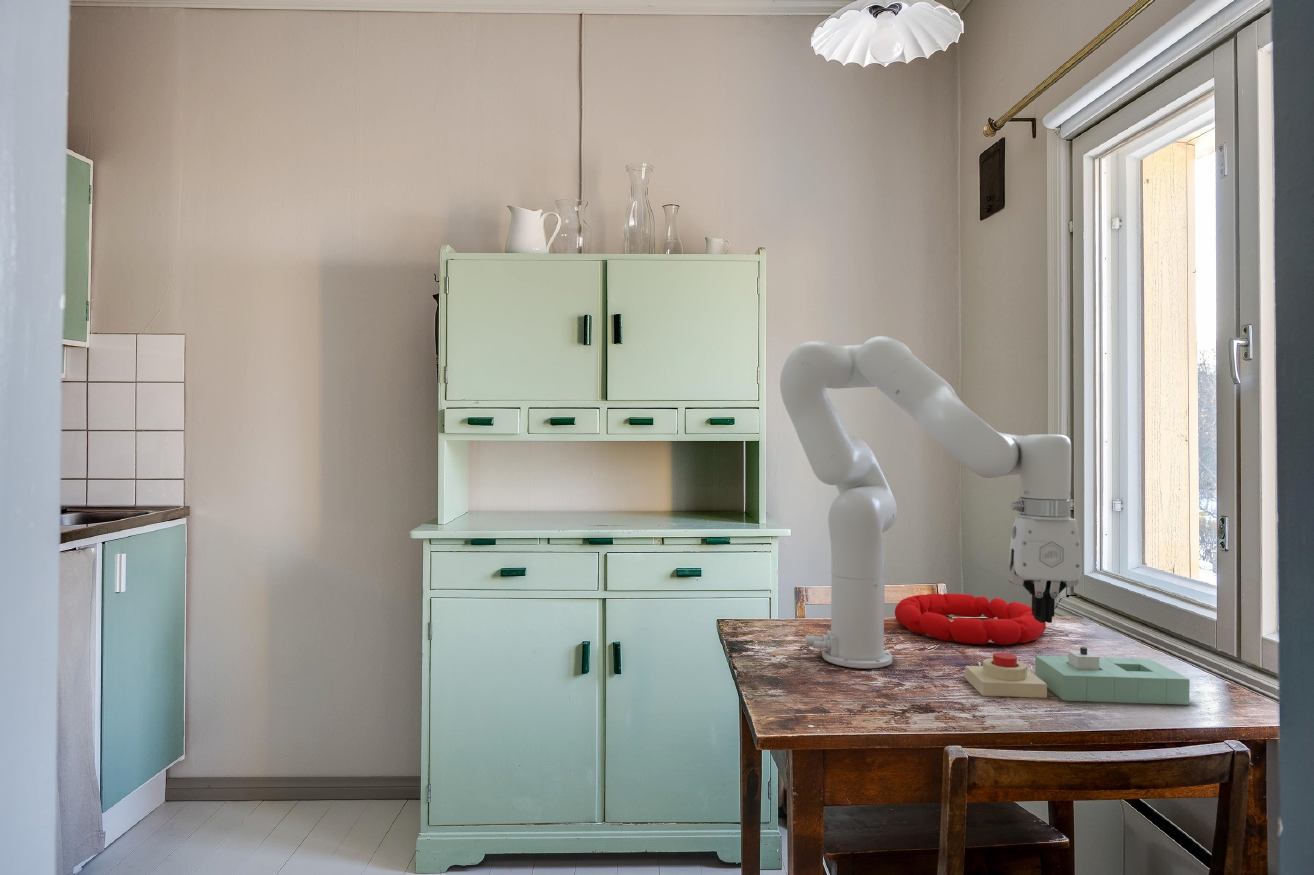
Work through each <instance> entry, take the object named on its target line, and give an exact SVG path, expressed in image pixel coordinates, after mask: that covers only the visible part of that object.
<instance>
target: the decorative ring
mask: <svg viewBox="0 0 1314 875" xmlns="http://www.w3.org/2000/svg"><path fill="white" fill-rule="evenodd" d="M951 615H952V616H954V617H955V618H953V620H952V621H951V620H950V619H949V617H947V616H951ZM982 615H983V616H984V617H985V618H987V619H984V620H982V619H980V617H981V616H982ZM894 617H895V619H896V621H897V623H898V624H900V625H901V626H903V627H905V628H906V629H907V630H909V631H910V632H912V633H915V634H918V635H928V636H930V637H931V638H934V639H937V640H939V641H944V642H945V641H947V642H949V641H956V642H959V643H962V644H968V645H979V646H983V645H987V644H989V641H992V643H994V644H995V645H998V646H999V645H1000V646H1011V645H1014V644H1016V643H1017V644H1026V643H1030V642H1032V641H1036V640H1037V639H1039V638H1040V637H1042V635H1044V632H1045V631H1046V628H1047V622H1045V623H1041V622H1039V621H1037V620H1036V619H1034V616H1033V615H1032V606H1029V605H1027V604H1024V603H1020V602H1017V601H1011V602H1009V603H1007V602H1006V601H1005V600H1004V599H1002V598H1000V597H999V598H998V597H995V598H993V599H991V600H989V598H988V597H987V596H977V597H975V596H974V595H972V594H963V593H943V594H942V593H927V594H916V595H912V596H908V597H906V598H903V599H901V600H900V601H898V603H897V604H896V605H895V608H894Z"/></svg>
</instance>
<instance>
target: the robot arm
mask: <svg viewBox="0 0 1314 875" xmlns="http://www.w3.org/2000/svg"><path fill="white" fill-rule="evenodd" d="M780 373H781V374H780V378H779V389H780V394H781V398H782V402H783V404H784V407H785V409H786V412H787V414H788V416H789V418H790V420H791V423H792V425H793V427H794V429H795V432H796V434H797V437H798V440H799V441H800V444H801V446H802V449H803V451H804V454H805V456H806V458H807V460H808V463H809V465H810V467H811V470H812V472H813V474H814V475H815V477H816V478H817V479H818V481H820V482H822V483H823V484H825V485H829V486H836V489H837V491H838V495H837V496H836V497H835V498H834V500H833V501H832V503H831V504H830V507H829V511H828V519H827V520H828V521H827V522H828V532H829V540H830V549H831V550H830V554H831V556H830V557H831V558H830V559H831V563H830V564H831V566H830V568H831V570H830V572H831V573H830V574H831V584H830V586H831V587H830V588H831V590H830V591H831V592H830V594H831V595H830V596H831V597H830V605H831V606H830V610H831V611H830V629H827V632H826V633H827V634H825V633H823V634H822V635H820V636H816V635H807V634H806V635H805V637H804V645H805V647H813V649H822V651H821V657H822V659H823V660H825V662H828V663H830V664H833V665H836V666H840V667H845V668H852V669H866V670H867V669H878V668H879V669H880V668H884V667H885V668H886V667H888V666H890V665H891V664H893V660H894V659H893V658H894V657H893V654H892V653H891V652H890V651H888V650H885V588H886V586H885V584H886V583H885V581H886V580H885V579H886V578H885V572H886V571H885V570H886V569H885V567H886V566H885V565H886V564H885V549H884V541H883V533H886V532H887V531H888V530H890V528H892V526H893V525H894V523H895V522H896V519H897V514H898V507H897V502H896V499H895V497H894V494H893V492H892V490H891V487H890V485H889V483H888V481H887V479H886V477H885V475H884V473H883V470H882V469H881V466H880V464H879V462H878V459H877V458H876V456H875V453H874V452H873V451H872V450H873V449H871V448H870V446H869V445H868V444H867V442H866V441H864V440H863V439H861V438H860V437H857V436H855V435H851V434H849V433H848V431H847V429H846V428H845V426H844V424H843V421H842V419H841V417H840V414H839V412H838V411H837V408H836V407H835V405H834V403H833V402H832V400H831V399H830V396H829V395H828V393H827V389H833V390H834V389H836V390H837V389H840V390H841V389H854V388H877V389H878V390H879V391H880V392H881V393H883V395H885V396H886V397H888V398H889V399H890V401H892V402H893V403H895V404H896V405H897V406H898V407H899V408H901V410H902V411H904V412H905V413H906V414H907V415H908V416H909V417H910V418H912V419H913V420H914V421H915V422H916V423H917V425H919V427H920V428H922V429H923V430H924V431H925V432H926V433H927V434H929V436H930V437H932V438H933V439H934V440H935V441H936V442H937V443H938V444H939V445H940V446H941V447H942V448H943V449H945V450H946V451H947V452H948V453H949V454H950V455H952V456H953V457H954V458H955V459H956V460H958V461H959V462H960V463H961V464H962V465H963V466H964V467H966V468H967V469H968V470H970V471H971V472H972V473H974V474H975V475H977V476H980V477H982V478H986V479H995V478H999V477H1000V478H1001V477H1005V476H1006V477H1007V476H1014V475H1016V476H1018V475H1019V497H1018V500H1016V501H1011V503H1010V509H1011V510H1012V511H1017V513H1018V514H1019V515H1015V518H1014V521H1013V527H1012V528H1011V529H1012V530H1011V535H1010V543H1009V554H1008V568H1009V569H1008V570H1009V572H1010V574H1009V576H1008V582H1009V583H1010V584H1012V585H1015V586H1019V587H1023V588H1024V589H1025V590H1026V591H1027V592H1028V593H1029V595H1031V607H1032V615H1033V616H1034V619H1036V620H1037V621H1039V622H1041V623H1045V622H1046V624H1053V617H1055V610H1056V608H1055V604H1056V603H1055V600H1056V599H1057V598H1058V597H1059V594H1061V592H1062V591H1064V589H1066V588H1072V587H1077V586H1079V583H1080V582H1079V579H1080V578H1081V576H1082V571H1083V567H1082V566H1083V565H1082V562H1083V561H1082V548H1081V547H1082V546H1081V540H1080V533H1079V527H1078V522H1077V519H1076V518H1072V517H1071V504H1072V503H1071V502H1072V501H1071V494H1072V493H1071V492H1072V491H1071V490H1072V489H1071V487H1072V442H1071V441H1072V440H1071V439H1070V438H1069V437H1068V436H1066V435H1063V434H1055V433H1054V434H1053V433H1052V434H1051V433H1050V434H1049V433H1047V434H1045V433H1034V434H1033V433H1031V434H1027V435H1019V434H1011V433H1006V432H1005V433H1004V432H999V431H997V430H996V429H995V428H993V427H992V426H990V425H989V424H988V423H987V422H986V421H985V420H984V419H983V418H981V417H980V416H978V415H977V414H976V413H975V412H974V411H972V410H971V409H970V408H969V407H968V406H967V405H966V404H965V403H964V402H963V401H962V400H961V399H960V397H959V396H958V395H957V393H956V392H955V390H954V388H953V387H952V385H951V384H950V383H949V382H948V381H946V379H945V378H943V377H942V376H941V375H939V374H938V373H937V372H935V371H934V370H933V369H931V368H930V367H929V366H928V365H926V364H925V363H924V362H922V360H920V359H919V358H918V357H917V356H916V355H914V354H913V352H912V351H911V349H910V348H909V347H908V346H907V344H905V343H904V342H902V341H900V340H898V339H895V338H892V337H890V336H886V335H876V336H874V337H873V336H872V337H871V338H869V339H867V340H866V341H865V342H863V343H862V344H851V345H849V344H848V345H836V344H834V343H833V344H832V343H830V342H826V341H822V340H809V341H806V342H803V343H801V344H799V345H798V346H796V347H795V348H794V349H793V350H792V351H791V352H790V354H789V355H788V357H787V358H786V359H785V362H784V363H783V365H782V369H781V372H780ZM1042 581H1044V585H1043V583H1042Z"/></svg>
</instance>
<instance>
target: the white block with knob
mask: <svg viewBox="0 0 1314 875" xmlns="http://www.w3.org/2000/svg"><path fill="white" fill-rule="evenodd" d="M1067 652H1068V653H1067V654H1068V655H1067V656H1068V664H1069V665H1071V666H1072V667H1074V668H1075V669H1077V670H1099V657H1100V656H1098V655H1096V654H1095V653H1093V652H1092V651H1090V650H1089V651H1088V648H1087V647H1085V646H1081V647H1080V648H1079V650H1068V651H1067Z"/></svg>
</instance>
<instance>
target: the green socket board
mask: <svg viewBox="0 0 1314 875" xmlns="http://www.w3.org/2000/svg"><path fill="white" fill-rule="evenodd" d="M1098 657H1099V670H1077V669H1075V668H1074V667H1072V666H1071V665H1069V664H1068V655H1067V656H1065V655H1064V656H1062V655H1035V657H1034V658H1035V659H1034V660H1035V661H1034V662H1035V664H1034V665H1035V666H1034V675H1036V676H1037V677H1038V678H1040V679H1041V680H1042V681H1044V682H1045V683H1046V684H1047V690H1049V691H1051V692H1052V693H1054V695H1055V696H1057V697H1058V698H1060V699H1061V700H1063V701H1070V702H1096V703H1097V702H1098V703H1100V702H1102V703H1129V704H1152V705H1156V704H1157V705H1181V706H1183V705H1184V706H1185V705H1187V706H1189V705H1190V681H1191V680H1190V678H1188V677H1186V676H1184V675H1182V674H1180V673H1178V672H1176V671H1174V670H1173V669H1171V668H1169V667H1167V666H1164V665H1163V664H1161V663H1159V662H1157V661H1155V660H1153V659H1151V658H1136V657H1135V658H1134V657H1133V658H1131V657H1130V658H1129V657H1102V656H1101V657H1100V656H1098Z"/></svg>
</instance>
